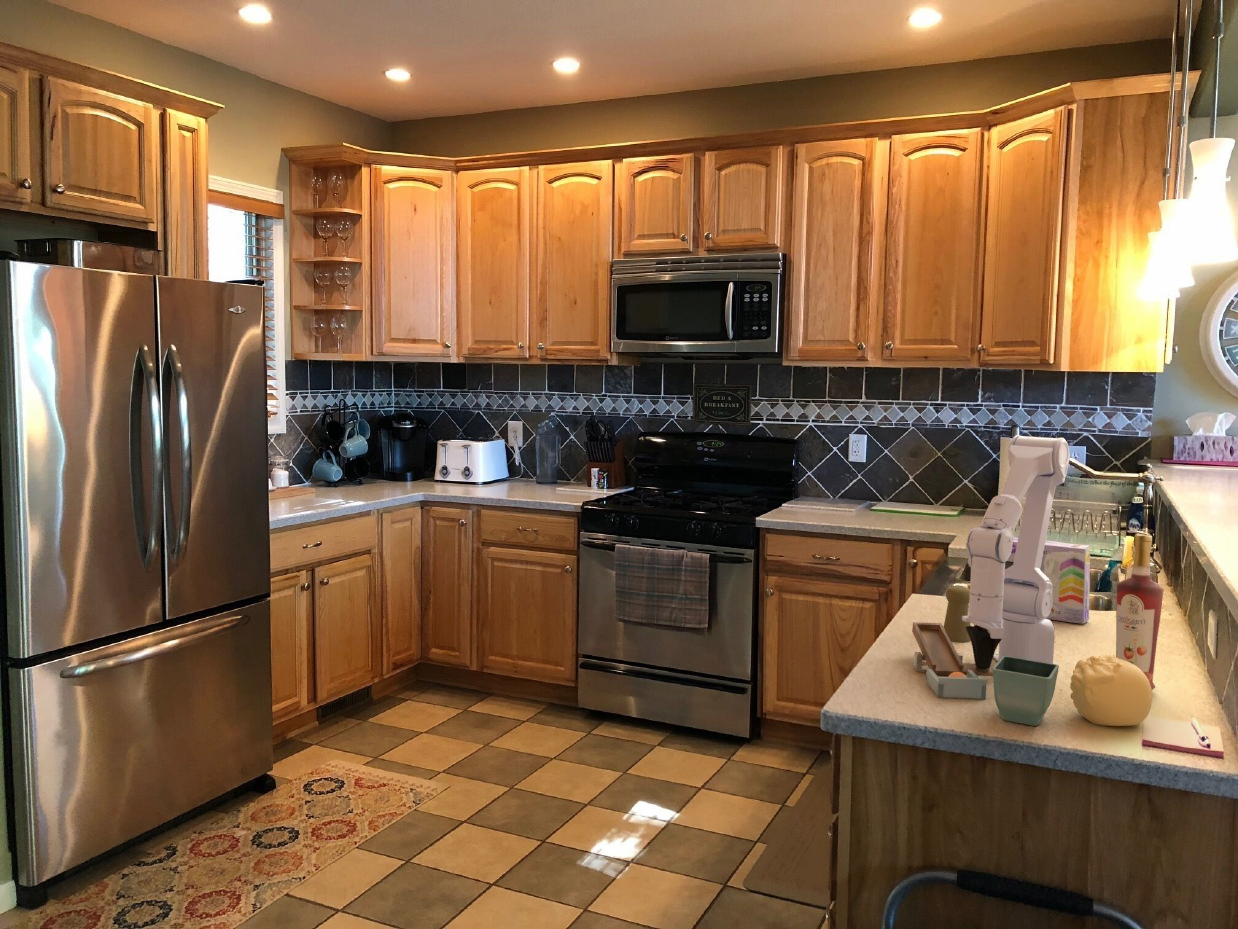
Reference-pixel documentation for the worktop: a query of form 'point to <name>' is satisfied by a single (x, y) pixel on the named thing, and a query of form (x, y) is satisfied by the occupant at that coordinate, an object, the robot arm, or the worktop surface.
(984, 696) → the dish
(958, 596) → the olive green pepper shaker
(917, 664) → the fulcrum
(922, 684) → the worktop surface
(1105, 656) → the sculpture
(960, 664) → the lever
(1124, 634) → the liquor
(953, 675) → the ball
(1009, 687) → the flower pot
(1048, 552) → the cake pan box
